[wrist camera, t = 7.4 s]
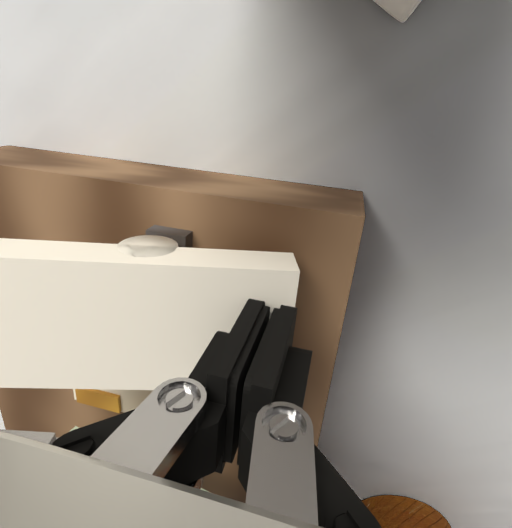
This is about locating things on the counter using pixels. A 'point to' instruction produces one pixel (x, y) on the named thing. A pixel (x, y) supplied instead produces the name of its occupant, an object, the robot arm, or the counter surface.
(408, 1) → the milk carton
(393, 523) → the disposable coffee cup
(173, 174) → the switch unit
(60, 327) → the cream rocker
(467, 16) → the counter surface
